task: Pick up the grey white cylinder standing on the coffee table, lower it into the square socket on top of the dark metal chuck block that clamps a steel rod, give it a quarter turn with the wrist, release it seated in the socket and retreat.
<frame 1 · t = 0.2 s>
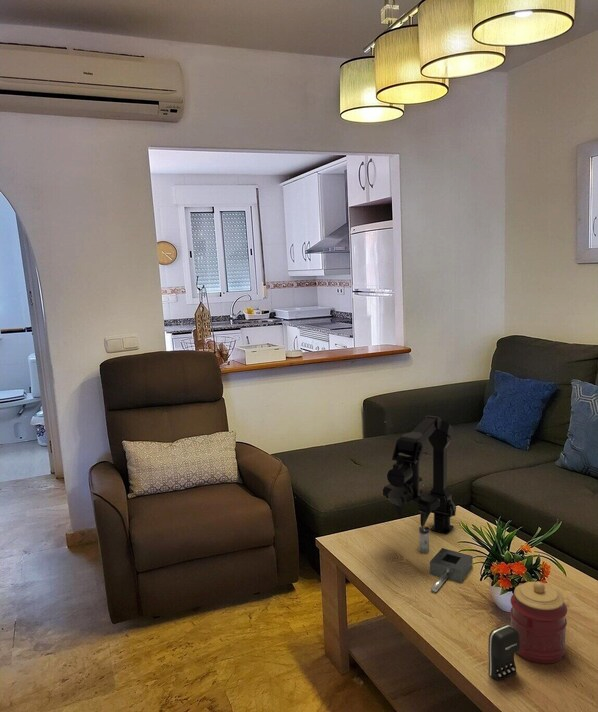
hand: (410, 521, 186), 14 cm above the table, fingers open, 9 cm apart
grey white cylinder: (424, 551, 195), on the table
canister: (537, 648, 146), on the table
battery charger: (504, 675, 137), on the table
chuck block: (451, 570, 182), on the table
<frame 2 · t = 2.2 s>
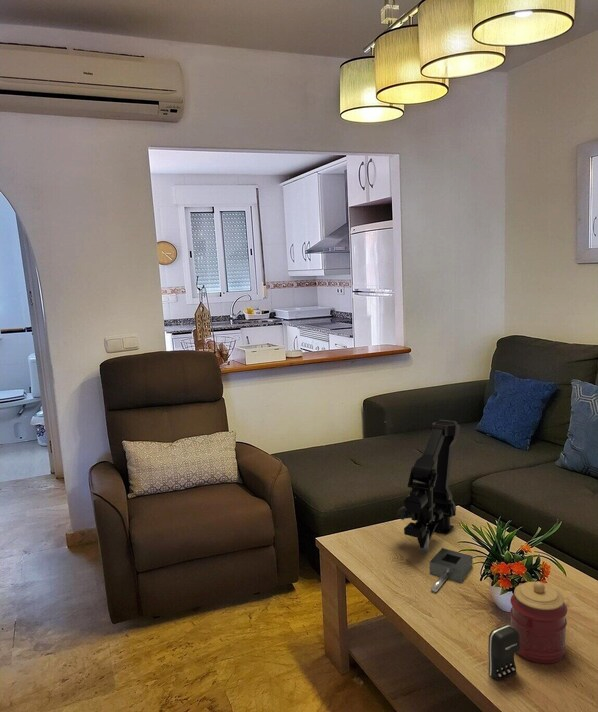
hand: (424, 545, 194), 2 cm above the table, fingers closed on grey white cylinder, 3 cm apart
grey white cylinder: (424, 551, 195), on the table, touching gripper
everything else where it was.
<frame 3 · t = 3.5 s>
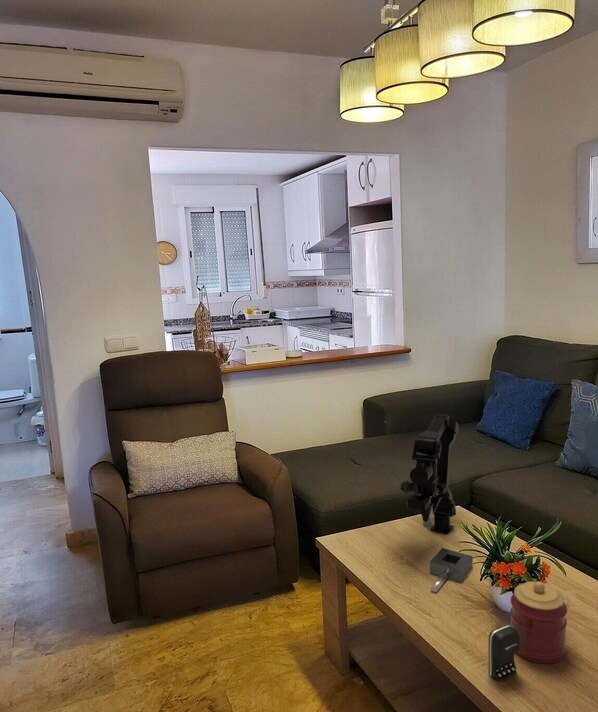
hand: (427, 519, 190), 12 cm above the table, fingers closed on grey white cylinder, 3 cm apart
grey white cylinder: (427, 525, 191), point 10 cm above the table, touching gripper
everything else where it was.
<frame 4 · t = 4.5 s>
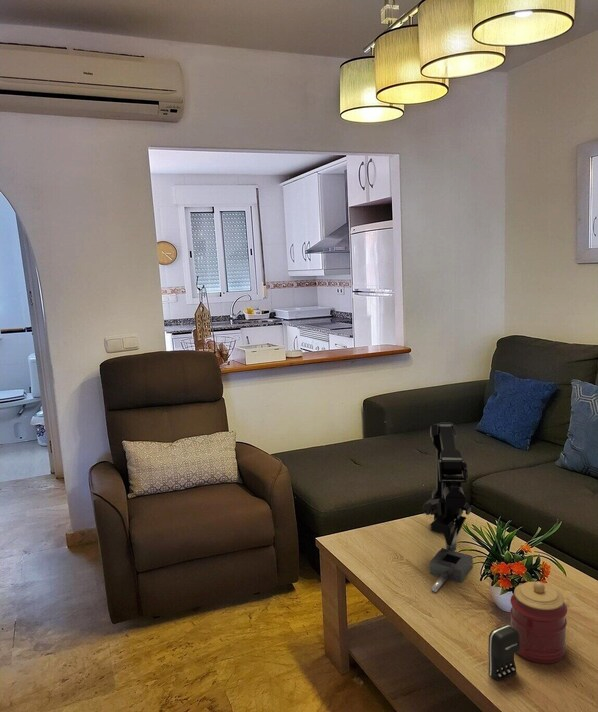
hand: (451, 542, 181), 9 cm above the table, fingers closed on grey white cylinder, 3 cm apart
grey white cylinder: (451, 548, 181), point 7 cm above the table, touching gripper
everything else where it was.
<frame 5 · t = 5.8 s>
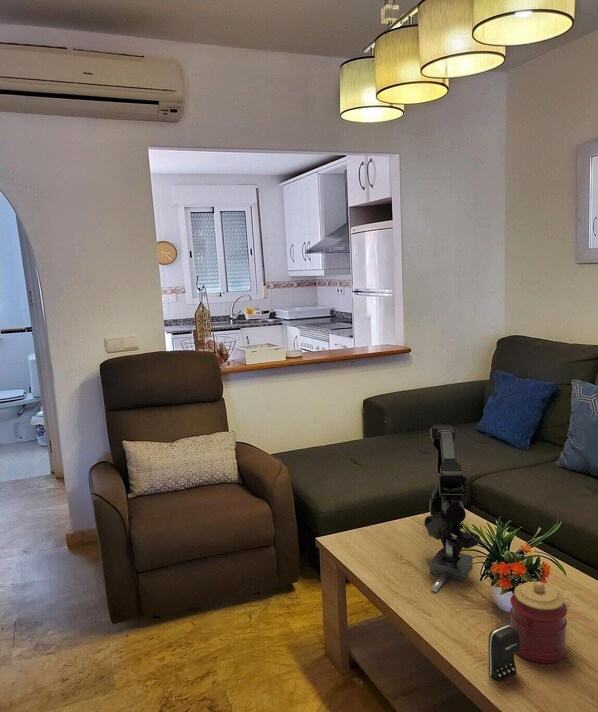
hand: (451, 555, 181), 5 cm above the table, fingers closed on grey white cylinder, 3 cm apart
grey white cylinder: (451, 561, 182), point 3 cm above the table, touching gripper
everything else where it was.
when the fingers open (5 cm above the table, at t = 6.8 s): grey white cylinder drops 2 cm, resting on chuck block.
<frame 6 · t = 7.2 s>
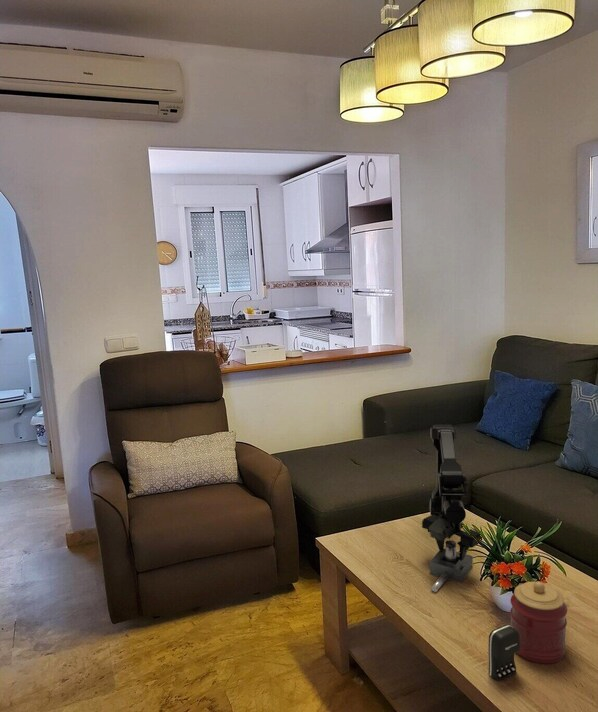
hand: (451, 555, 181), 5 cm above the table, fingers open, 7 cm apart
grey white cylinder: (450, 567, 182), point 1 cm above the table, touching chuck block
everything else where it was.
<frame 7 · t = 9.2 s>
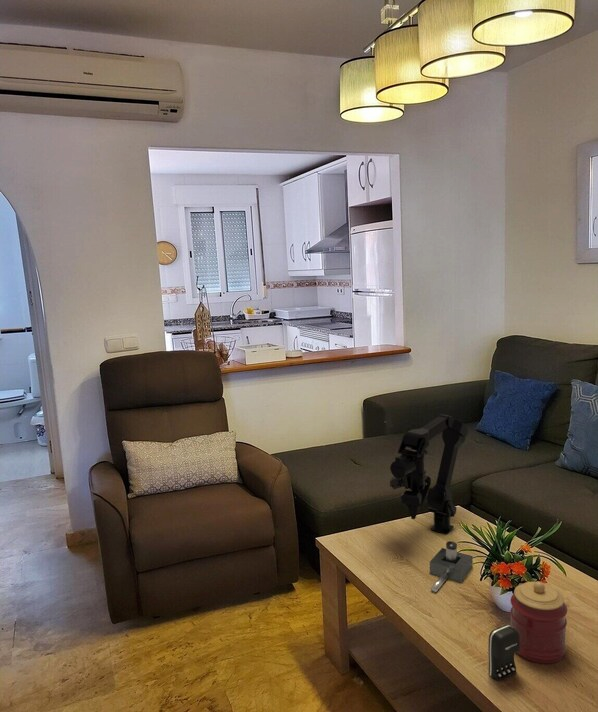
hand: (416, 513, 196), 12 cm above the table, fingers open, 9 cm apart
nothing on the table moved.
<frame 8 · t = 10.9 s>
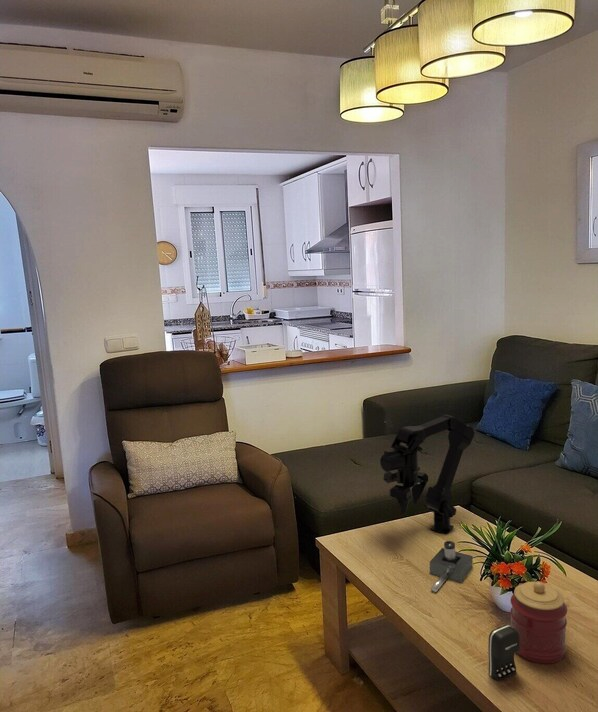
hand: (409, 508, 200), 12 cm above the table, fingers open, 9 cm apart
nothing on the table moved.
at the end: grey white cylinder 0.1 cm off-centre on the chuck block, point 1.1 cm above the chuck block's base; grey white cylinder tilted 4°; the gripper is holding nothing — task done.
